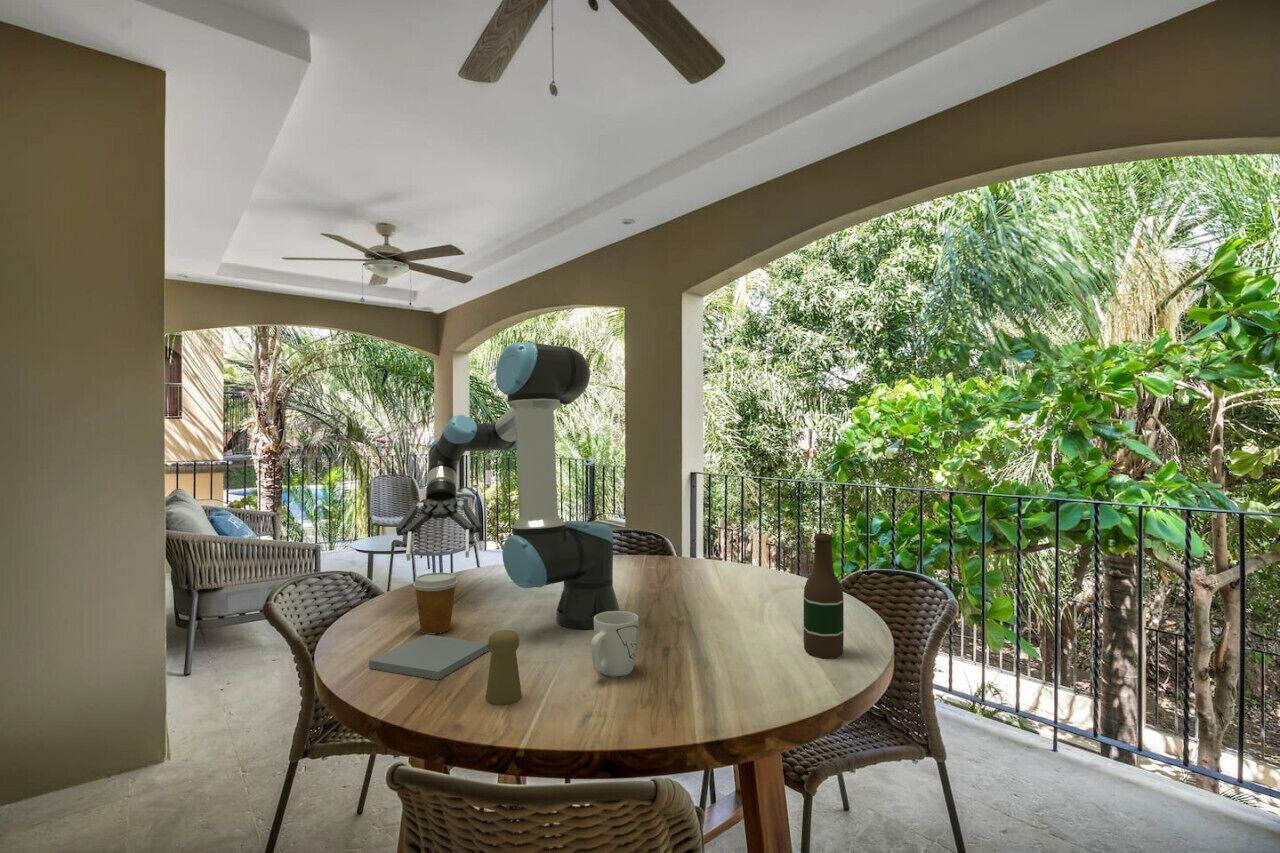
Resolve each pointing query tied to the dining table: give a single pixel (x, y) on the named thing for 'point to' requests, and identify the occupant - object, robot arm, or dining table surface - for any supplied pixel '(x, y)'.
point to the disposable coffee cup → (435, 601)
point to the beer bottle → (823, 604)
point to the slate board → (429, 656)
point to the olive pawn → (503, 669)
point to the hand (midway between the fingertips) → (438, 556)
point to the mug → (614, 642)
